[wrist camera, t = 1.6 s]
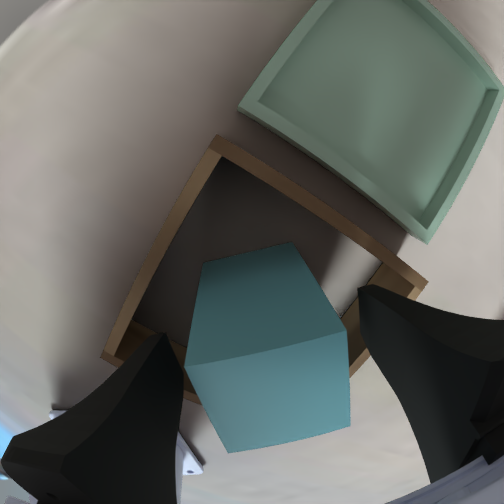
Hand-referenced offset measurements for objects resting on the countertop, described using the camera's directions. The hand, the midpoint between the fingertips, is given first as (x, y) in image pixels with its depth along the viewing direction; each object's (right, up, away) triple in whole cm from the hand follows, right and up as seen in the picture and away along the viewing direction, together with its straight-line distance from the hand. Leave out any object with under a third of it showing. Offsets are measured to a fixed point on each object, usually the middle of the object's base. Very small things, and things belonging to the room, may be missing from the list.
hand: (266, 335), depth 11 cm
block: (0, +1, +3) cm, 4 cm away
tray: (+6, +10, +1) cm, 12 cm away
